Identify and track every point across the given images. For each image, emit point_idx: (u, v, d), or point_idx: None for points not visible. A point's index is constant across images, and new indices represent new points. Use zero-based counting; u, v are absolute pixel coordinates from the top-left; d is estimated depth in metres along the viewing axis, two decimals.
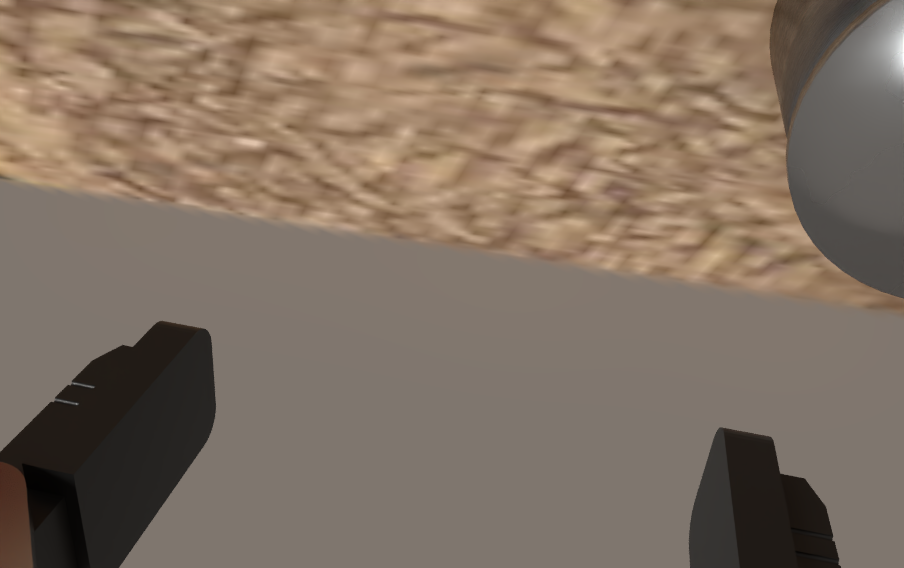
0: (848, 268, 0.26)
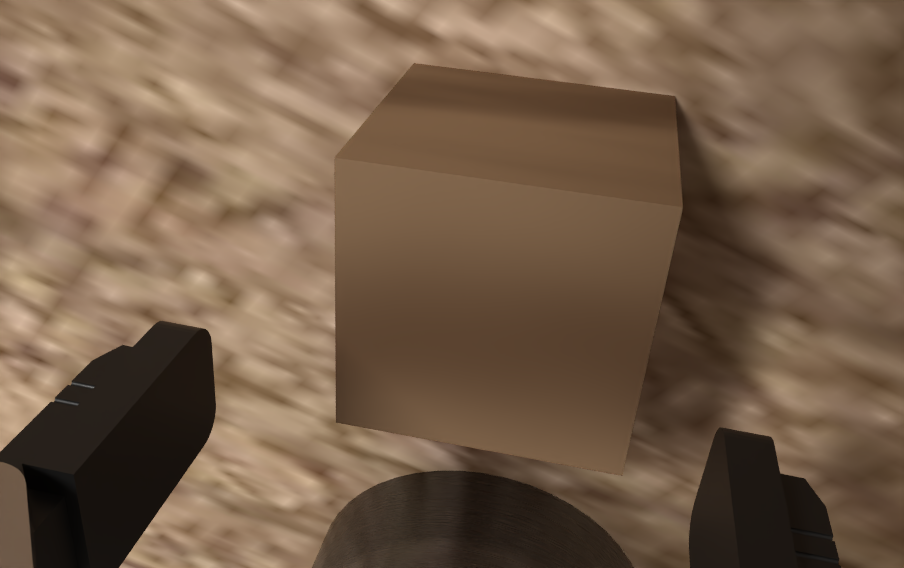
0: None
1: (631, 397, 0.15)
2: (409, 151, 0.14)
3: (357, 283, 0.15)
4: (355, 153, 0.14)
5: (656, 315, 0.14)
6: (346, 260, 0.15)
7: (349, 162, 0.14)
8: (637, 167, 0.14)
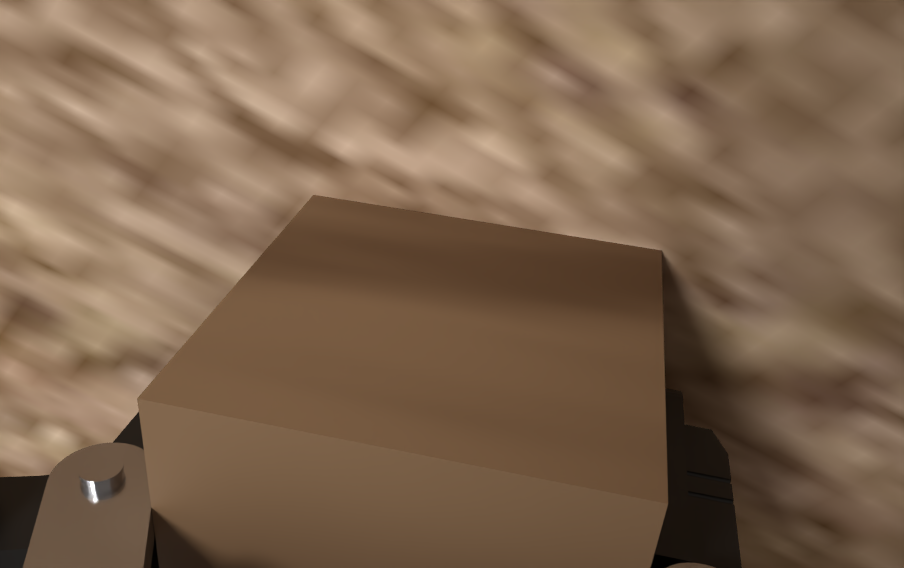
0: None
1: None
2: (259, 381, 0.09)
3: (189, 560, 0.10)
4: (173, 387, 0.09)
5: None
6: (170, 529, 0.10)
7: (159, 406, 0.09)
8: (601, 409, 0.09)
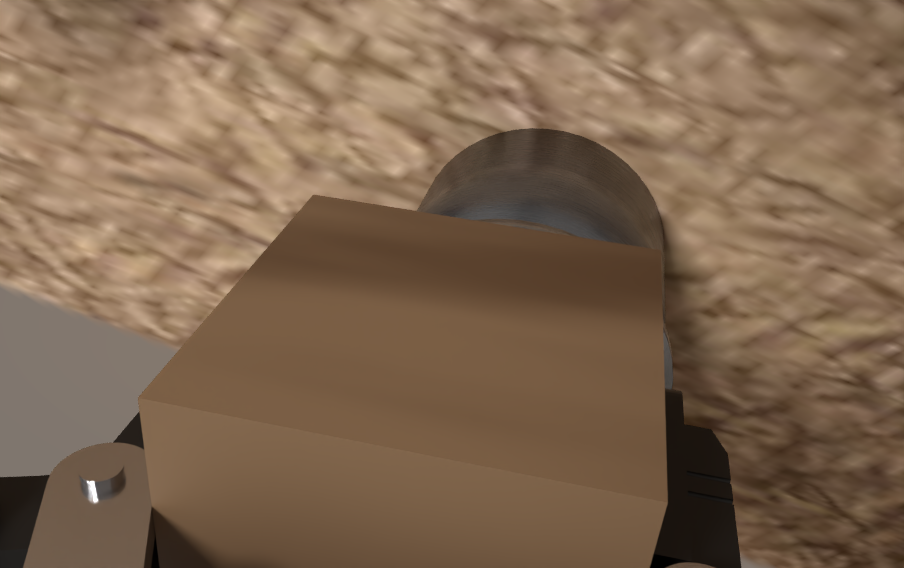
0: None
1: None
2: (259, 380, 0.09)
3: (189, 559, 0.10)
4: (174, 386, 0.09)
5: None
6: (170, 528, 0.10)
7: (160, 405, 0.09)
8: (601, 407, 0.09)
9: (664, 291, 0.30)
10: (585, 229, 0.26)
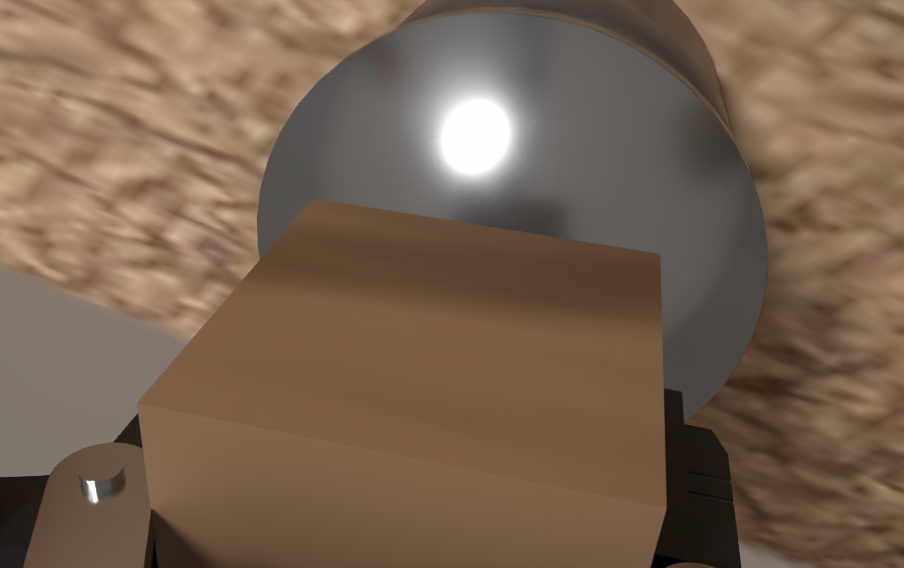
0: None
1: None
2: (258, 386, 0.09)
3: (188, 564, 0.10)
4: (173, 392, 0.09)
5: None
6: (170, 533, 0.10)
7: (159, 411, 0.09)
8: (600, 413, 0.09)
9: None
10: (626, 35, 0.16)
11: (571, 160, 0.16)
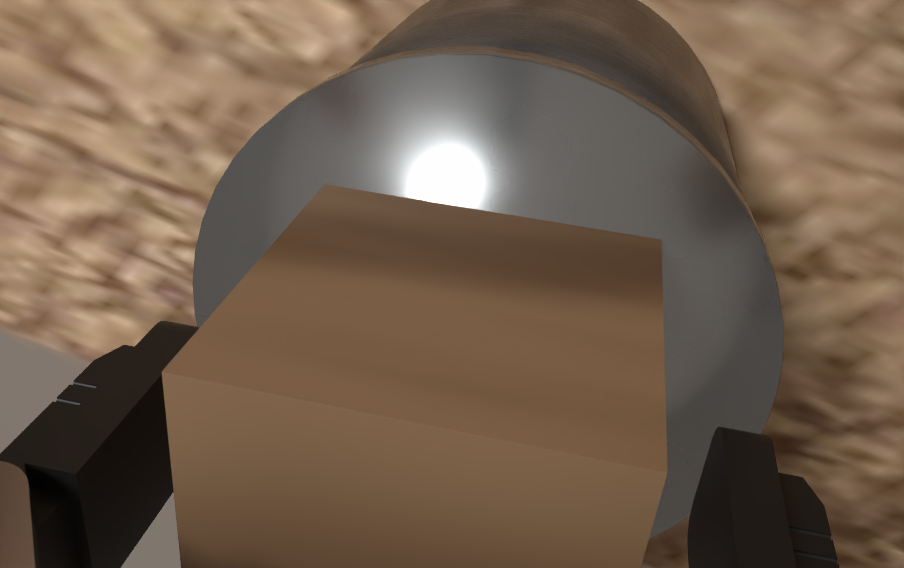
0: None
1: None
2: (277, 356, 0.10)
3: (207, 529, 0.10)
4: (195, 362, 0.10)
5: None
6: (190, 500, 0.10)
7: (183, 379, 0.09)
8: (604, 386, 0.10)
9: None
10: (617, 76, 0.14)
11: None
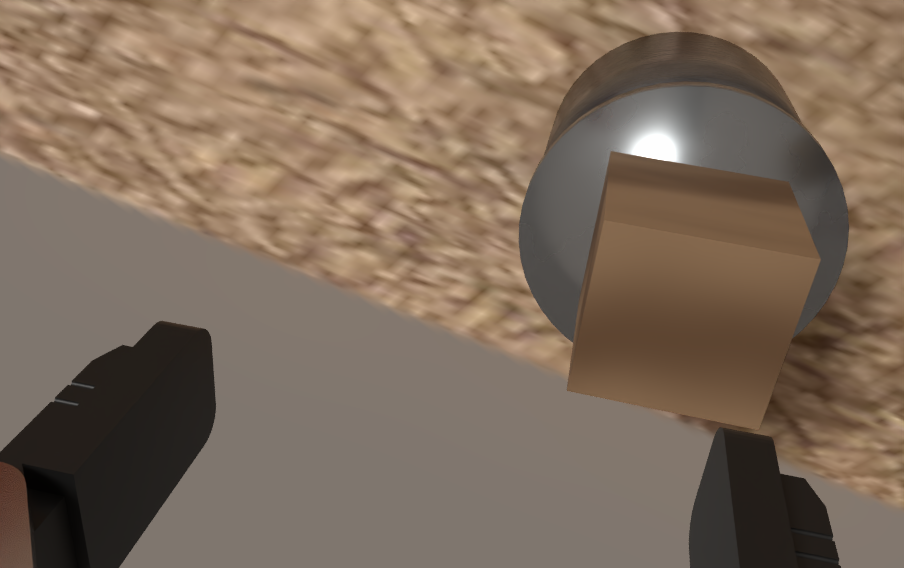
0: (556, 321, 0.30)
1: (772, 377, 0.23)
2: (645, 217, 0.23)
3: (602, 298, 0.23)
4: (614, 217, 0.23)
5: (796, 325, 0.23)
6: (598, 283, 0.23)
7: (613, 223, 0.22)
8: (785, 233, 0.23)
9: None
10: (764, 98, 0.27)
11: None
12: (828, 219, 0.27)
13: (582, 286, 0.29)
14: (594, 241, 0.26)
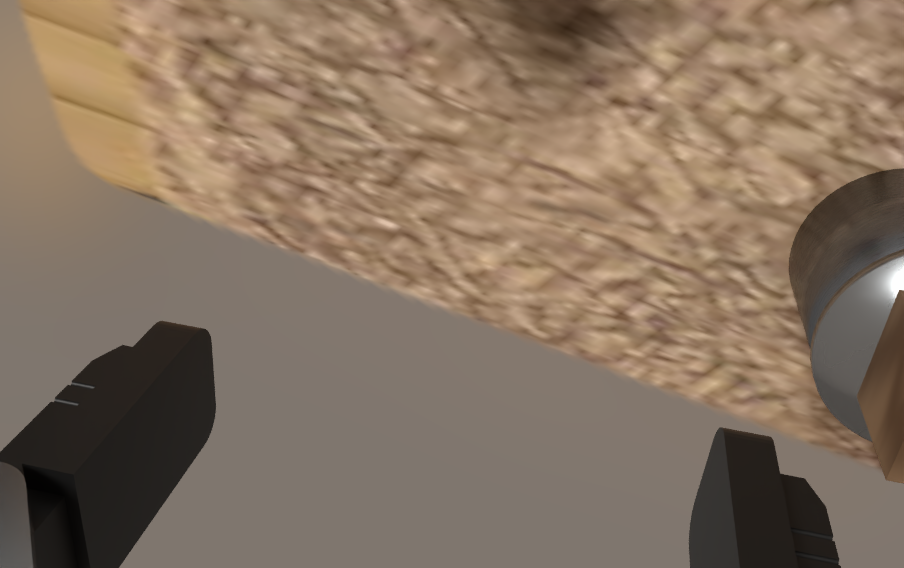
0: (835, 411, 0.39)
1: None
2: None
3: None
4: None
5: None
6: None
7: None
8: None
9: None
10: None
11: None
12: None
13: (865, 388, 0.37)
14: (896, 363, 0.34)
